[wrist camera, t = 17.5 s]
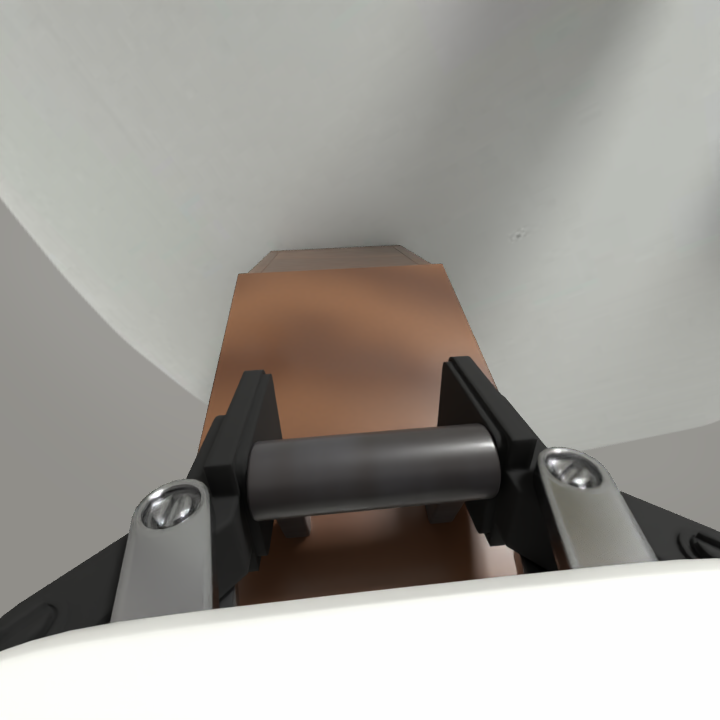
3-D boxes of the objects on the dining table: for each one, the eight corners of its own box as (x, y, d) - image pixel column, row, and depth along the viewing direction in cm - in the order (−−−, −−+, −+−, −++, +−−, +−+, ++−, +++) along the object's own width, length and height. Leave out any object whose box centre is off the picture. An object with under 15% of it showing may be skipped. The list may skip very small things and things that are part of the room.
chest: (398, 388, 35) (427, 462, 25) (290, 396, 34) (276, 476, 24) (400, 244, 29) (438, 267, 19) (270, 250, 28) (241, 277, 18)
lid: (568, 584, 10) (695, 533, 6) (169, 630, 9) (42, 603, 5) (439, 275, 19) (458, 184, 16) (241, 286, 18) (213, 192, 15)
